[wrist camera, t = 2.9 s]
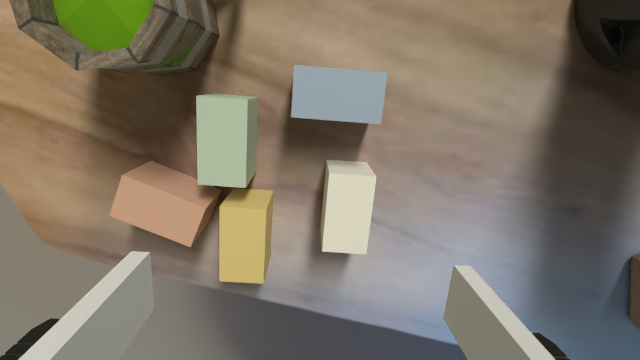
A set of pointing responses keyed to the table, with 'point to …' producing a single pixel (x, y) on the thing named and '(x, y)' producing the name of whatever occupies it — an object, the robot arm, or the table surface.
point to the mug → (122, 32)
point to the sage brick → (226, 139)
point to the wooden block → (635, 291)
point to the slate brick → (338, 94)
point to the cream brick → (347, 206)
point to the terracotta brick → (164, 202)
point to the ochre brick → (245, 235)
